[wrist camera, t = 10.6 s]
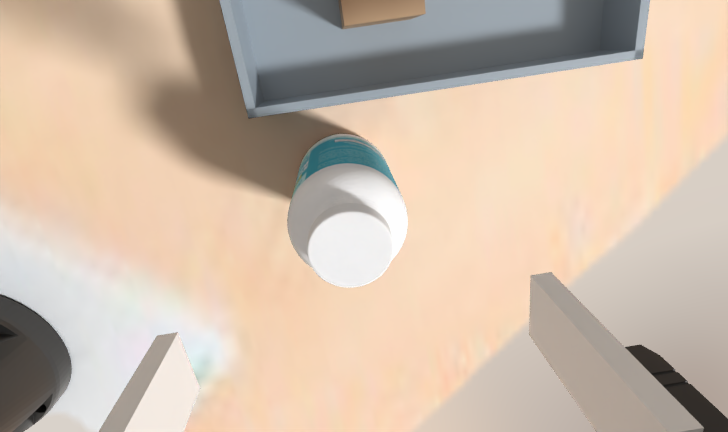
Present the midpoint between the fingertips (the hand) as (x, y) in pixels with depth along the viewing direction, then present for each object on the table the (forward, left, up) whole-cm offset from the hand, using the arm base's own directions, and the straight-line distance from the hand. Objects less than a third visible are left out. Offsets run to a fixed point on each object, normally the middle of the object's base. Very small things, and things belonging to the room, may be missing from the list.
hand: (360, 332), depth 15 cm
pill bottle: (0, 0, -21) cm, 21 cm away
